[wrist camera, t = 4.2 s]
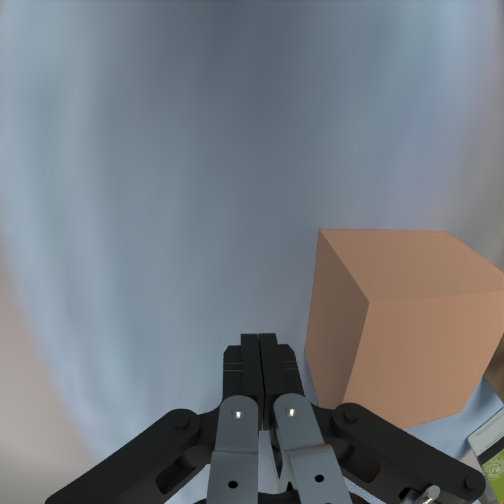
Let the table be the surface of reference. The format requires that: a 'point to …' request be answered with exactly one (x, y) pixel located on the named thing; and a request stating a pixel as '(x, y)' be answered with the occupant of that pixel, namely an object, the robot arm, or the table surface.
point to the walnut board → (497, 371)
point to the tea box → (491, 452)
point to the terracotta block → (401, 322)
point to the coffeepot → (488, 495)
